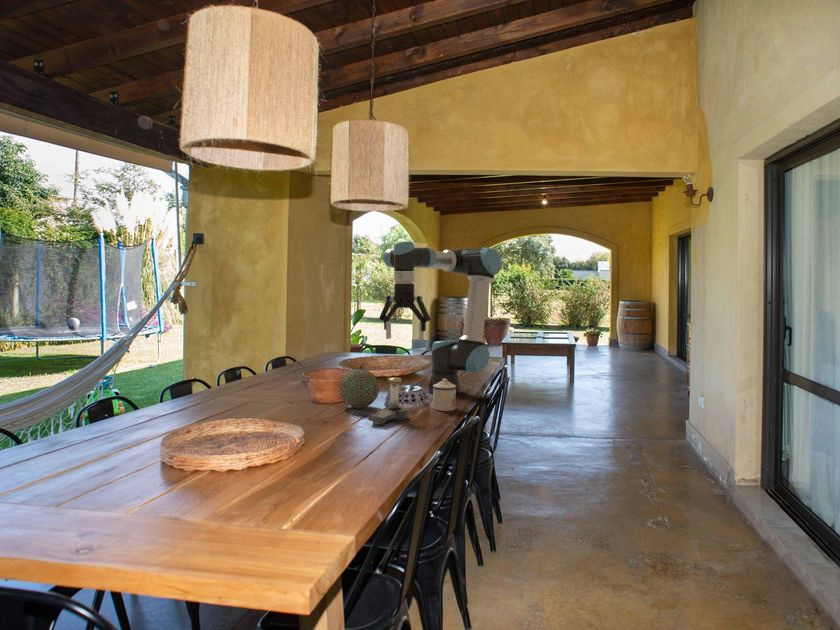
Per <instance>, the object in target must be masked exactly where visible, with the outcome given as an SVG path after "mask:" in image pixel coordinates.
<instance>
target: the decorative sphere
mask: <svg viewBox="0 0 840 630" xmlns="http://www.w3.org/2000/svg"><path fill="white" fill-rule="evenodd" d="M340 381H341V382H340V385H339V392H340V396H341V399H343V401H344V402H345V404H346V405H348V406H350V407H352V408H355V409H357V408H360V407H361V408H367V407H369V406H371V405H372V404H373V403H374V402H375V401H376V400H377V398H378V396H379V394H380V393H379V392H380V385H379V380H378V378H377V377H376V376H375V375H374V373H373V372H371V371H369V370H368V369H365V368H355V369H352V370H350V371H348V372H347V373H345V375H344V376H343V377H342V379H341V380H340Z"/></svg>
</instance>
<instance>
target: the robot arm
mask: <svg viewBox="0 0 840 630" xmlns="http://www.w3.org/2000/svg"><path fill="white" fill-rule="evenodd" d="M414 245H415V244H414V242H413V241H396V242H394V244H393V248H388V249H387V250H385V251H384V254H383V262H384V265H385V266H386V267H388V268H393V275H394V276H393V278H394V279H393V282H394V288H393V290H394V292H393V293H394V295H393V296H392V295H387V296H386V301H385V304H384V306H383V308H382V311H381V313H380V316H379V319H378V320H380V321H383V329H384V330H385V338H386V340H389V339H392V321H390V320H391V318H392V317H393V316H394V314H395V313H396V312H397V310H398V309H404V308H405V309H410V310H411V311H412V313H413V314H414V315H415V317H416V318H417V319H418V320H419V322H418V341H423V340H424V337H425V336H424V334H425V333H424V332H425V331H426V329H427V324H426V323H427V322H430V321H431V320H432V319H431V316H430V314H429V312H428V310H427V308H426V306H425V303H424V301H423V296H422V295H417V296H415V284H414V282H415V269H428V270H429V269H430V270H432V269H433V270H443V271H444V272H446V273H455V274H460V275H466V278H467V279H468V281H469V286H468V293H467V301H466V308H465V317H464V324H463V331H462V336H460V337H459V338H458V339H448V340H438V341H434V342H433V343H432V345H431V346H432V347H431V375H430V378H429V381H428V383H427V392H428V393H429V394H433V385H434V384H437V383H439V382H441V381H442V379H447V381H448V382H450V383H451V384H454V385H456V395H459V394H461V393H462V385H461V382H460V378H459V374H458V373H459V372H460V371H461V372H466V373H467V372H468V373H481V372H483V371H484V369H486V367H487V366H488V364H489V361H490V355H491V354H490V350H489V348H488V347H487V346H486V341H485V340H484V338H483V337H484V329H485V322H486V316H487V315H486V314H487V306H488V298H489V291H490V284H491V283H492V282H493V281H494V280H495V276H496V275H498V274H500V272H501V268H502V259H501V256H500V254H499V252H498V251H497V250H496V249H495V248H493V247H485V246H484V247H473V248H472V247H469V248H468V247H465V248H459V249H445V250H443V251H436V250H434V248H431V247H415V246H414ZM392 302H395V303H394V304H393V305H392ZM414 302H416V303H417V305H418V308H419V309H418V308H417V306H416V305H415V303H414ZM391 306H392V307H391ZM390 307H391V309H390Z"/></svg>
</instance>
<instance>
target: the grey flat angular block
mask: <svg viewBox="0 0 840 630" xmlns="http://www.w3.org/2000/svg"><path fill="white" fill-rule="evenodd" d="M351 412H352V413H351V414H352V416H359V417H360V416H361V417H368V421H369V422H372V426H373V427H384V426H385V422H388V421H390V422H391V421H393V422H396V421H406V420H408V409H407V407H404V406H399V410H390V406H385V407H383V408H382V409H376V408H367V407H364V408H361V407H360V408H355V409H352V411H351Z"/></svg>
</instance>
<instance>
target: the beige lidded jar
mask: <svg viewBox="0 0 840 630" xmlns="http://www.w3.org/2000/svg"><path fill="white" fill-rule="evenodd" d="M432 394H433V395H432V409H433V410H434V411H440V412H452V411H455V410H456V396H457V394H456V385H454V384H451V383H450V382H448V381H447V379H442V381H441V382H439V383H437V384H434V385H433V393H432Z"/></svg>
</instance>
